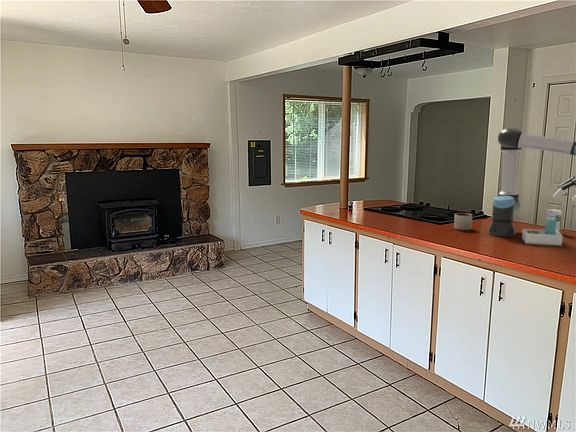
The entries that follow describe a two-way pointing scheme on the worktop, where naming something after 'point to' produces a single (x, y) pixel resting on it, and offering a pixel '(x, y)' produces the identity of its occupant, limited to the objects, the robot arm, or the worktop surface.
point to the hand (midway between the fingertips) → (563, 199)
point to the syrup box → (555, 217)
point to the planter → (463, 221)
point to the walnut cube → (533, 232)
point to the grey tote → (542, 238)
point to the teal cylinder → (550, 227)
